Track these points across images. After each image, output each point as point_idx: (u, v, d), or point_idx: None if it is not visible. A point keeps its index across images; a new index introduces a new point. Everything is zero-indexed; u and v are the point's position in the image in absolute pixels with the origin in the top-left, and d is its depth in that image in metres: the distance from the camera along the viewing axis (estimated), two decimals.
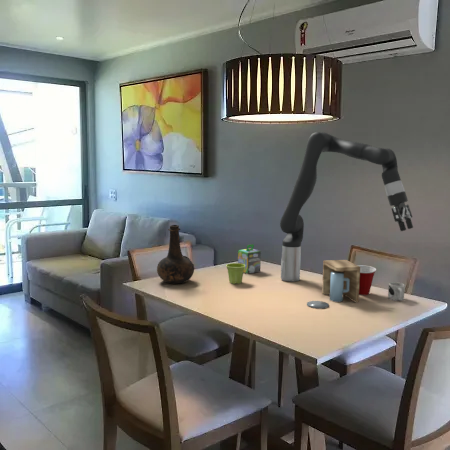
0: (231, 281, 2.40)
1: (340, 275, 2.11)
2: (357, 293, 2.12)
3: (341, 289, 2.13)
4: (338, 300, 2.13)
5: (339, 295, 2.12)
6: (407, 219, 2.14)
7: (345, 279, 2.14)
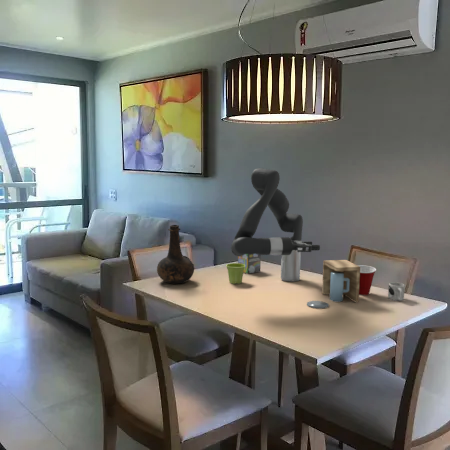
0: (231, 281, 2.40)
1: (340, 275, 2.11)
2: (357, 293, 2.12)
3: (341, 289, 2.13)
4: (338, 300, 2.13)
5: (339, 295, 2.12)
6: None
7: (345, 279, 2.14)
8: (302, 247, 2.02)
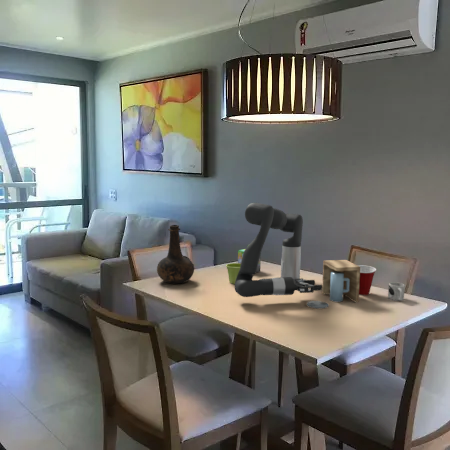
0: (231, 281, 2.40)
1: (340, 275, 2.11)
2: (357, 293, 2.12)
3: (341, 289, 2.13)
4: (338, 300, 2.13)
5: (339, 295, 2.12)
6: None
7: (345, 279, 2.14)
8: (304, 288, 2.05)
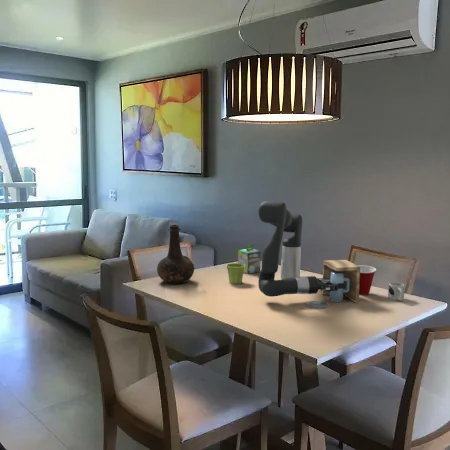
0: (231, 281, 2.40)
1: (340, 275, 2.11)
2: (357, 293, 2.12)
3: (341, 289, 2.13)
4: (338, 300, 2.13)
5: (339, 295, 2.12)
6: None
7: (345, 279, 2.14)
8: (330, 287, 2.07)
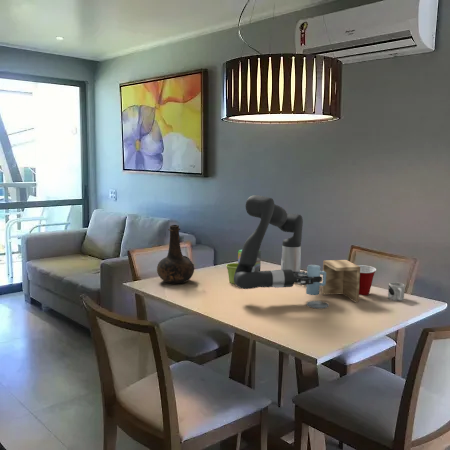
0: (231, 281, 2.40)
1: (316, 268, 2.09)
2: (357, 293, 2.12)
3: (317, 282, 2.10)
4: (314, 293, 2.11)
5: (315, 288, 2.10)
6: None
7: (322, 272, 2.12)
8: (305, 280, 2.05)
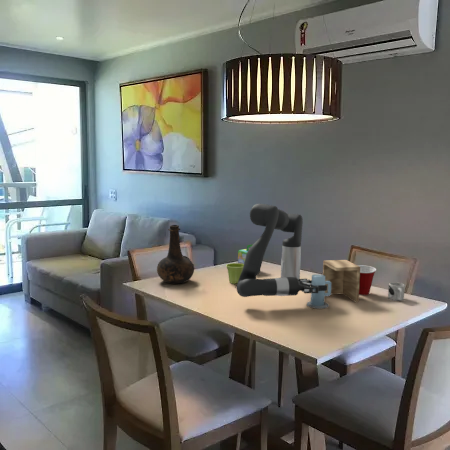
0: (231, 281, 2.40)
1: (321, 278, 2.03)
2: (357, 293, 2.12)
3: (322, 293, 2.04)
4: (319, 304, 2.04)
5: (320, 299, 2.04)
6: None
7: (327, 282, 2.06)
8: (309, 288, 1.98)
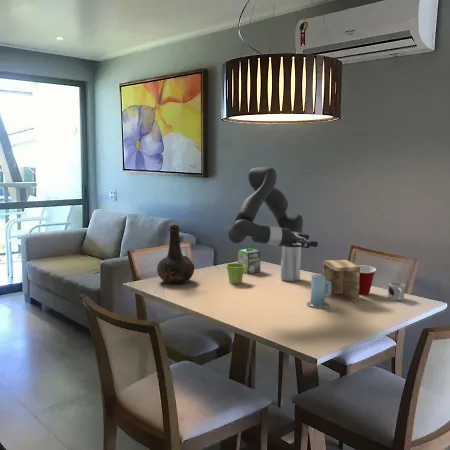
0: (231, 281, 2.40)
1: (321, 278, 2.03)
2: (357, 293, 2.12)
3: (322, 293, 2.04)
4: (319, 304, 2.04)
5: (320, 299, 2.04)
6: None
7: (327, 282, 2.06)
8: (301, 242, 1.95)
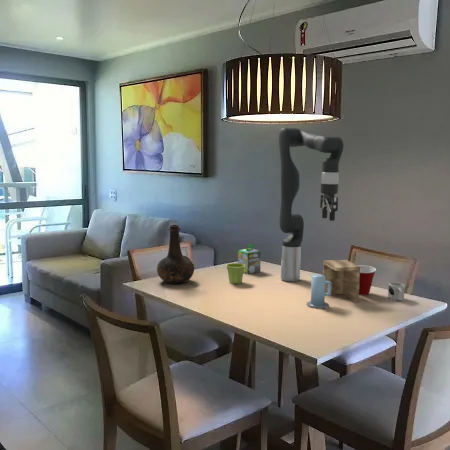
0: (231, 281, 2.40)
1: (321, 278, 2.03)
2: (357, 293, 2.12)
3: (322, 293, 2.04)
4: (319, 304, 2.04)
5: (320, 299, 2.04)
6: None
7: (327, 282, 2.06)
8: (336, 201, 2.12)
